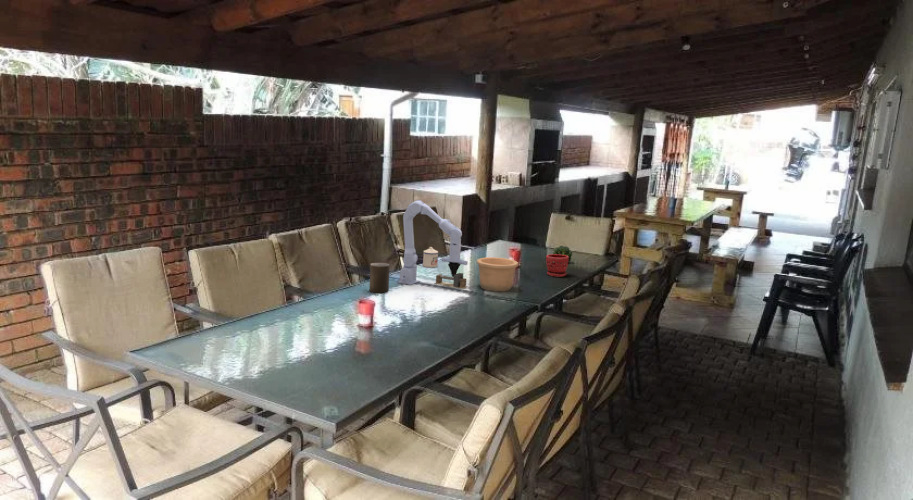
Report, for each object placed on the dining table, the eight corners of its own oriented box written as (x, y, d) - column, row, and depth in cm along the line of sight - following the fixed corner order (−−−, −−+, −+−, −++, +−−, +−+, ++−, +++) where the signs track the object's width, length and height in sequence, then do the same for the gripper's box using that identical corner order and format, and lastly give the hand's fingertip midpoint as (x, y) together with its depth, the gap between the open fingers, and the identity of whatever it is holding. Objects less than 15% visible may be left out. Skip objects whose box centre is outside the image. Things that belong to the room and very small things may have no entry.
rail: (467, 286, 349) (468, 278, 348) (462, 289, 344) (462, 280, 343) (439, 282, 357) (440, 273, 356) (434, 284, 351) (434, 275, 351)
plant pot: (566, 273, 396) (567, 254, 394) (567, 278, 383) (569, 258, 381) (544, 272, 397) (546, 252, 395) (545, 276, 384) (546, 256, 382)
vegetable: (550, 261, 420) (548, 247, 432) (561, 274, 425) (559, 260, 437) (566, 252, 415) (564, 238, 427) (577, 265, 420) (575, 251, 432)
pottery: (468, 288, 347) (470, 261, 344) (486, 280, 366) (487, 255, 363) (506, 294, 337) (508, 267, 334) (522, 286, 356) (524, 261, 354)
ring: (462, 284, 350) (463, 273, 349) (457, 286, 345) (458, 275, 344) (458, 284, 352) (459, 272, 350) (453, 286, 346) (453, 274, 345)
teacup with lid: (432, 268, 390) (433, 249, 388) (419, 266, 394) (420, 247, 392) (442, 265, 401) (443, 246, 398) (430, 263, 405) (431, 244, 403)
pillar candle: (385, 294, 325) (386, 264, 323) (366, 292, 327) (367, 262, 324) (391, 289, 334) (392, 261, 332) (372, 287, 336) (374, 259, 334)
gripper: (470, 252, 346) (469, 277, 349) (446, 248, 353) (445, 273, 355) (464, 254, 340) (463, 279, 343) (440, 250, 347) (439, 275, 349)
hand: (453, 276), depth 349 cm, fingers closed
